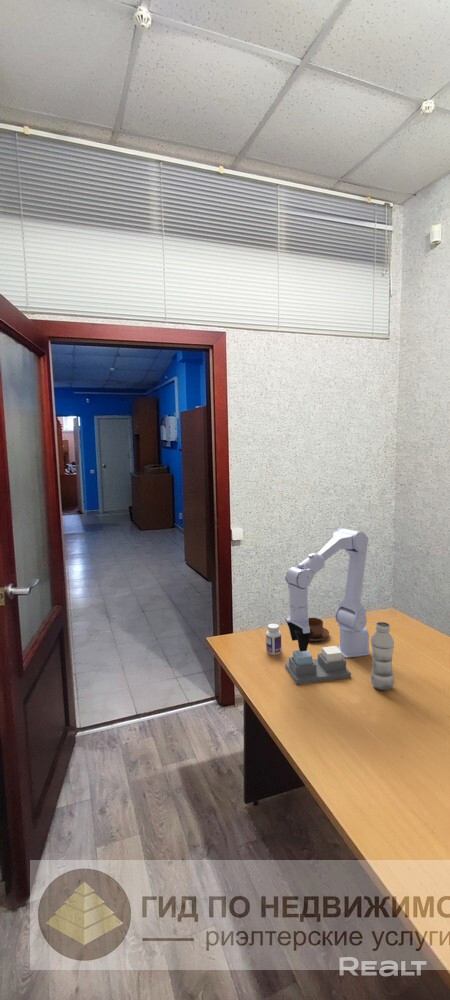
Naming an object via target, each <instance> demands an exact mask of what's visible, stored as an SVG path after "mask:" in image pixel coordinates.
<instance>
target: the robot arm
mask: <svg viewBox="0 0 450 1000" xmlns="http://www.w3.org/2000/svg"><path fill="white" fill-rule="evenodd" d="M368 542H369V537H368V535H367V534H366V533H365V532H364V531H359V530H353V529H350V528H349V529H348V528H345V527H338V529H336V531H334V532H332V536H331V539H329V541H328V542H326V543H325V545H324V546H323V547H322V548H320V550H319V551H318V552H317V553H316V552H312V553H309V554H308V555H307V556H306V558H304V559H303V560H301V562H299V563H297V565H296V566H292V567H290V568H288V569H287V571H286V574H285V575H284V581H285V582H286V583H287V588H288V590H289V591H288V593H289V609H288V617H287V618H285V619H284V620H285V622H286V624H287V627H288V629H289V633H290V638H291V640H292V642H294V641H297V645H298V650H300V651H307V650H308V646H309V642H310V641H309V640H310V638H311V636H312V634H313V630H312V629H310V627H309V623H308V618H309V616H308V615H309V613H308V612H309V611H308V608H309V607H308V606H309V604H308V598H309V597H308V587H310V586H311V583H312V580H313V579H314V577H315V575H316V574H318V572H320V571H321V570H322V569H323V568H324V567H325V565H326V563H325V561H327V560H328V559H330V558H331V557H332V556H334V555H335V554H336V553H337V552H339V551H340V550H345V552H346V553H347V554H348V556H349V560H348V568H347V575H346V583H345V590H344V591H345V592H344V598H343V599H342V600H341V601H340V602H338V603H337V604H338V605H337V608H336V610H335V614H334V619H335V622H337V625H338V627H339V645H338V646H337V645H335V646H336V647H337V648H338V649H339V650H340V651H341V652H342V657H343V658H344V659H345V658H346V659H348V658H356V657H363V656H364V657H365V656H370V655H371V652H370V635H369V631H368V629H367V627H366V625H367V622H368V620H367V619H368V618H367V609H366V607H364V605H363V604H362V602H361V599H362V590H363V582H364V575H365V567H366V560H367V552H368V546H369V544H368Z"/></svg>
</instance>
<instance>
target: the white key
mask: <svg viewBox="0 0 450 1000" xmlns="http://www.w3.org/2000/svg"><path fill="white" fill-rule="evenodd" d="M336 646H337V645H331V646H330V645H329V646H325V647H324V646H323V647H321V653H322V657H323V658H324V659H325V661H326V662H334V661H342V657H343V655H342V652H341V651H340V650H339V649H338V648H337V647H336Z"/></svg>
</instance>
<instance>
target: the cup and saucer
mask: <svg viewBox="0 0 450 1000" xmlns="http://www.w3.org/2000/svg"><path fill="white" fill-rule="evenodd" d="M308 623H309V627H310V629H312V630H313V634H312V636H311V638H310V640H309V642H319V641H321V642H322V641H323V640H325V639H327V638H328V637H329V636H330V631H329V630H328V629H326V628H325V627H324V621H323V620H322V619H321V618H318V617H308Z"/></svg>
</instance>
